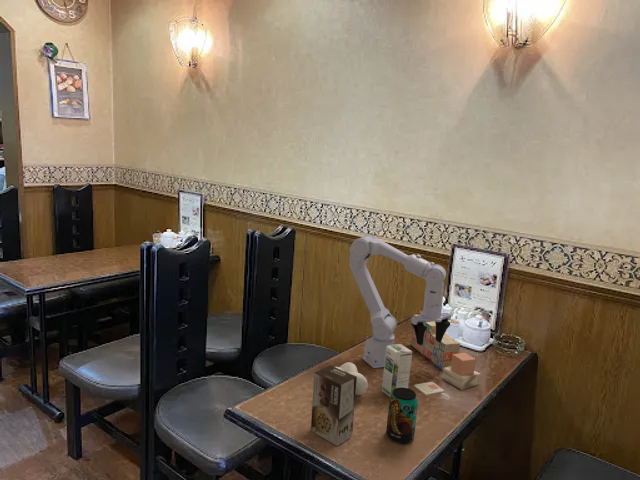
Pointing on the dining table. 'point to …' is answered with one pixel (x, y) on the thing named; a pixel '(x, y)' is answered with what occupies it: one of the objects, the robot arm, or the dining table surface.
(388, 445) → the dining table surface
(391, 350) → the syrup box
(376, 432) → the dining table surface
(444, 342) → the stack of blocks
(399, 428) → the beverage can
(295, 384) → the dining table surface
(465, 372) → the terracotta cube
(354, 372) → the white lobed shape
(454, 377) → the ash block
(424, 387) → the card
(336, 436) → the coffee box
